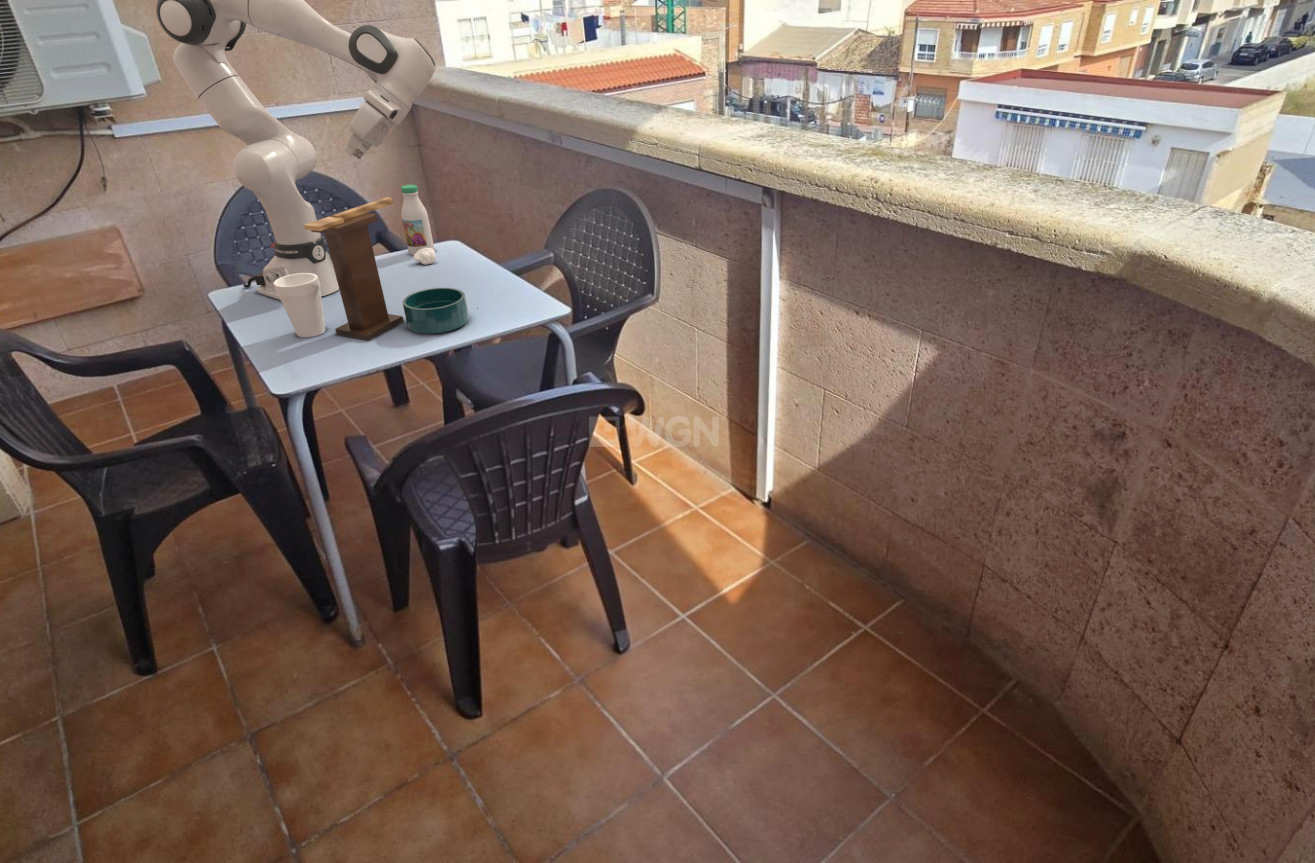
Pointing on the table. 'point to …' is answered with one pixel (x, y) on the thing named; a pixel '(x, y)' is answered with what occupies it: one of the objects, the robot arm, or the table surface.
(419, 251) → the white lumpy piece
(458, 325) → the bowl
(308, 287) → the foam cup
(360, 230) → the wooden pedestal
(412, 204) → the milk bottle
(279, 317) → the table surface
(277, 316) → the table surface
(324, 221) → the spatula
